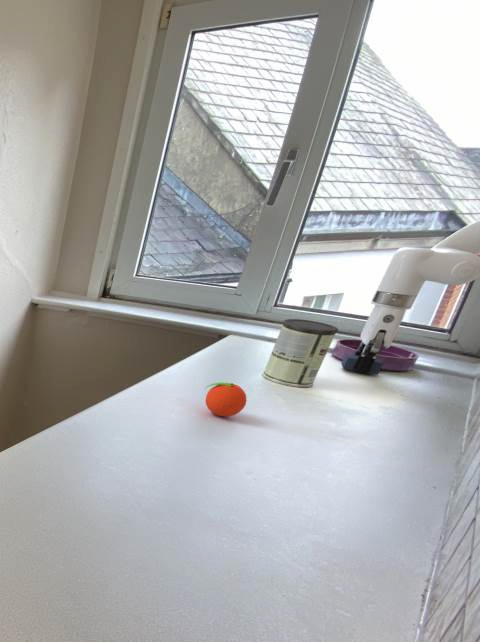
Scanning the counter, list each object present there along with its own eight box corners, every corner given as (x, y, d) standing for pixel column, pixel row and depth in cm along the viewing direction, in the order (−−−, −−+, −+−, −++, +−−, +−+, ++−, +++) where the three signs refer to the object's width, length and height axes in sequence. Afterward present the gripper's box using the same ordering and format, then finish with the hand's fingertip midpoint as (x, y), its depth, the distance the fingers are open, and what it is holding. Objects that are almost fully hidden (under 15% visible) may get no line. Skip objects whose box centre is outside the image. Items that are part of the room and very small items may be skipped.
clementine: (196, 416, 113) (208, 384, 110) (193, 404, 118) (204, 374, 115) (241, 425, 110) (255, 392, 107) (236, 412, 115) (249, 381, 112)
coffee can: (265, 369, 142) (287, 316, 136) (314, 380, 136) (340, 325, 130) (258, 378, 136) (281, 323, 129) (309, 391, 129) (336, 333, 123)
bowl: (404, 361, 155) (411, 347, 153) (417, 377, 142) (425, 363, 140) (327, 348, 163) (333, 335, 162) (333, 362, 151) (340, 348, 149)
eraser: (374, 370, 144) (380, 359, 143) (377, 374, 141) (383, 363, 139) (341, 364, 147) (346, 353, 146) (342, 368, 144) (348, 357, 143)
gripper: (420, 308, 128) (382, 381, 136) (406, 297, 140) (372, 364, 148) (378, 303, 131) (344, 374, 140) (368, 292, 144) (337, 358, 152)
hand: (358, 368), depth 144 cm, fingers closed on eraser, 4 cm apart
